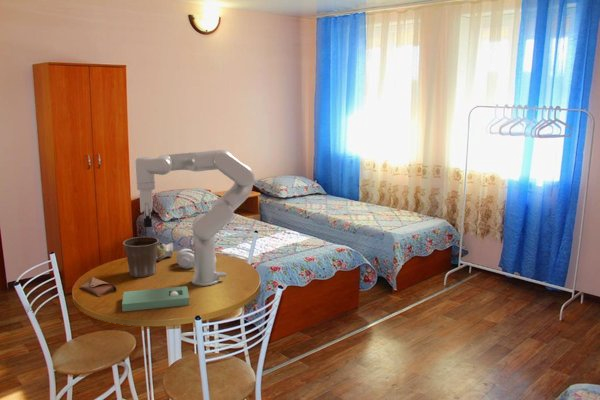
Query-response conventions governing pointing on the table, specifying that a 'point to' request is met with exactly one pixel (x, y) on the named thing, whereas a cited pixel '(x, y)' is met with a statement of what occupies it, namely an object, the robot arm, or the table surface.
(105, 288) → the sunglasses case
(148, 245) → the plant pot
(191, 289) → the table surface
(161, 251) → the ceramic sculpture
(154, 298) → the green board
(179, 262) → the headphones
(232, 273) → the table surface
